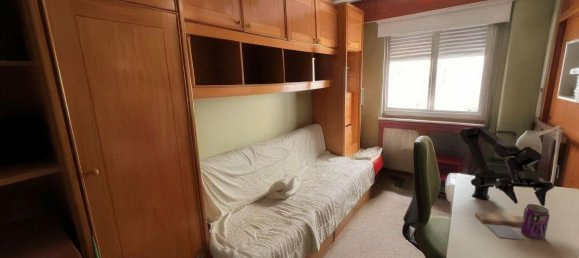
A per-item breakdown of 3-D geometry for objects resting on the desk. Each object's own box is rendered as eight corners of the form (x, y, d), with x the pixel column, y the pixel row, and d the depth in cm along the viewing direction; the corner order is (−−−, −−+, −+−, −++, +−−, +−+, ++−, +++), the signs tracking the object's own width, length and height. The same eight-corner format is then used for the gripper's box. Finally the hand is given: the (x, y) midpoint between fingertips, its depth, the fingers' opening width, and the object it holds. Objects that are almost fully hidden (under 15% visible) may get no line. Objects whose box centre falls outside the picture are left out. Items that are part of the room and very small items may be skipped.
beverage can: (536, 241, 96) (542, 213, 94) (516, 231, 103) (520, 204, 100) (549, 238, 98) (555, 210, 95) (528, 228, 105) (533, 202, 102)
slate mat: (509, 226, 106) (509, 226, 106) (524, 240, 97) (524, 239, 97) (485, 224, 107) (485, 224, 107) (498, 237, 99) (498, 236, 99)
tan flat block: (525, 219, 111) (525, 216, 110) (535, 227, 105) (536, 223, 105) (475, 215, 115) (475, 212, 114) (482, 222, 109) (482, 219, 109)
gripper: (502, 160, 106) (513, 196, 98) (555, 163, 102) (572, 200, 93) (489, 171, 115) (499, 204, 107) (538, 174, 111) (552, 209, 102)
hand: (529, 204), depth 102 cm, fingers open, 9 cm apart
